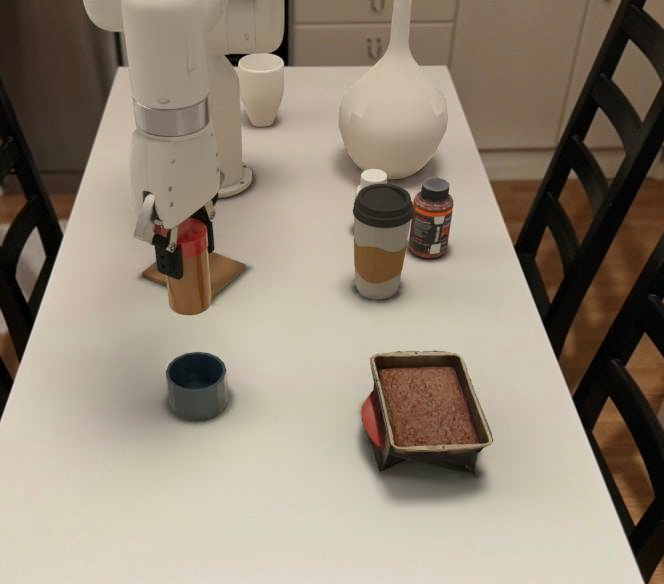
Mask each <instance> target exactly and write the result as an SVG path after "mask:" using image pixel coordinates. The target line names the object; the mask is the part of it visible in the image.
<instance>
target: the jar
mask: <svg viewBox="0 0 664 584" xmlns="http://www.w3.org/2000/svg"><path fill="white" fill-rule="evenodd" d="M167 230H168V229H165V228H164V227H162V226H161V235H162V236H164V237H166V238H167ZM176 246H177V247H179V248H180V249H181V257H182V267H183V277H182V278H181V279H180V280H177V279H175V278H172V277H169V276H167V275H166V281H167V286H166V289H167V298H168V305H169V308H170V310H171V311H173V312H174V313H176V314H178V315H181V316H197V315H200V314H202V313H205V312H206V311H207V310H209V308H210V307H211V306H212V299H211V286H210V273H209V259H208V233H207V227H206V225H205V224H204V223H203V222H202V221H200V220H198V219H195V218H189V217H188V218H187V219H186V220H184V221H183V222H182V223H180V224H179V225H178V235H177V244H176Z"/></svg>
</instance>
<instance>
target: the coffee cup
mask: <svg viewBox="0 0 664 584" xmlns="http://www.w3.org/2000/svg"><path fill="white" fill-rule="evenodd" d="M352 215H353V232H354V234H353V235H354V236H353V266H354V285H355V288H356V289H357V291H358V293H359V294H360V295H361V296H363V297H364V298H367V299H370V300H385V299H389V298H391V297H393V296H394V295H395V294H396V293H397V291H398V289H399V288H400V283H401V275H402V272H403V268H404V264H405V263H404V262H405V258H406V252H407V246H408V242H409V234H410V227H411V219H412V217H413V200H412V197H411V194H410V193H409V191H408V190H406V189H405V188H403V187H401V186H399V185H395V184H392V183H387V184H373V185H369V186H366V187H364V188H363V189H361V190H360V191H359V193H358V196H357V198H356V199H355V198H354V202H353V207H352Z"/></svg>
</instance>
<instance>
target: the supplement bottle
mask: <svg viewBox="0 0 664 584" xmlns="http://www.w3.org/2000/svg"><path fill="white" fill-rule="evenodd" d="M412 203H413V217H412V219H411V222H410V227H409V235H408V249H409V250H410V252H411V253H412V254H414V255H415V256H417V257H420V258H424V259H436V258H439V257H441V256H443V255H444V254H446V252H447V250H448V245H449V237H450V232H451V224H452V219H453V218H452V217H453V210H454V197H452V195H451V194H450V183H449V181H447V180H446V179H444V178H441V177H428V178H426V179H424V180H423V181H422V183H421V188H420V191H419V192H416V194H415V196H414V198H413V200H412Z"/></svg>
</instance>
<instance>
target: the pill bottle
mask: <svg viewBox="0 0 664 584" xmlns="http://www.w3.org/2000/svg"><path fill="white" fill-rule="evenodd" d="M373 184H388V179H387V174H386V173H385V172H384V171H382V170H379V169H369V170H366V171H362V172H361V174H360V184H359V185H358V186H357V187H356V189H355V195H354V196H355V197H354V200H355V199H356V198H357V196H358V193H359V191H360V190H361V189H363V188H364V187H366V186H369V185H373Z"/></svg>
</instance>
